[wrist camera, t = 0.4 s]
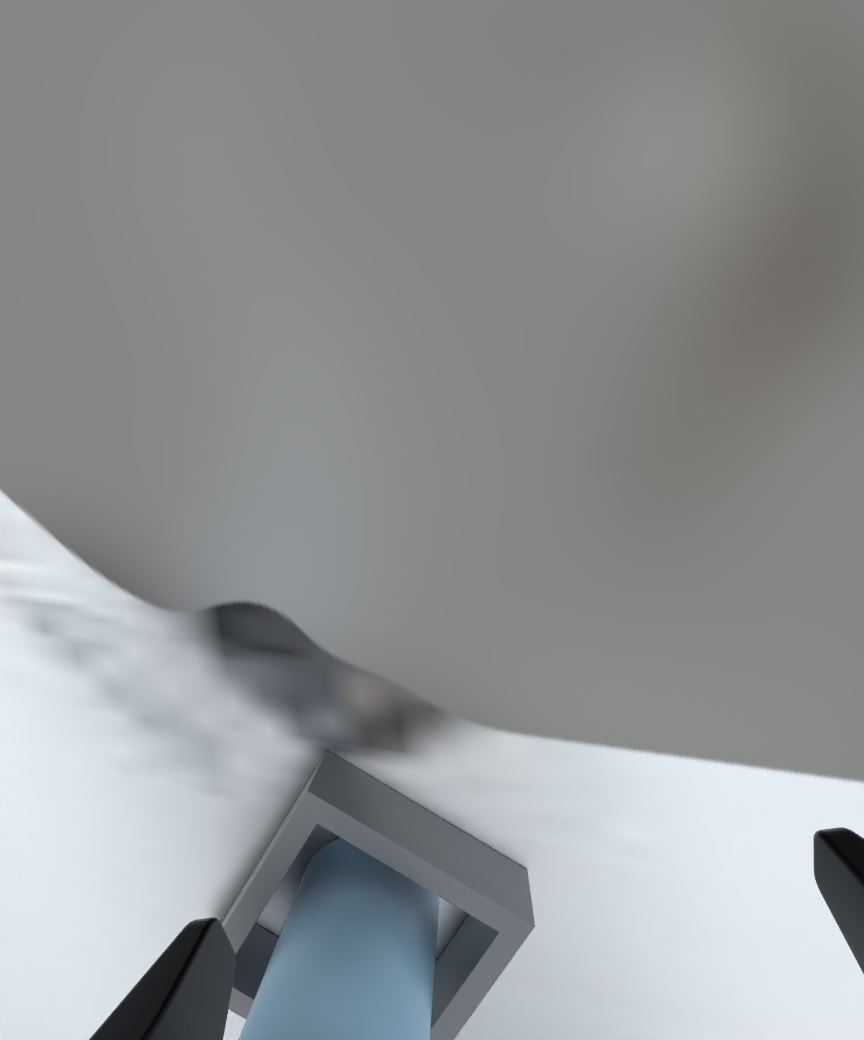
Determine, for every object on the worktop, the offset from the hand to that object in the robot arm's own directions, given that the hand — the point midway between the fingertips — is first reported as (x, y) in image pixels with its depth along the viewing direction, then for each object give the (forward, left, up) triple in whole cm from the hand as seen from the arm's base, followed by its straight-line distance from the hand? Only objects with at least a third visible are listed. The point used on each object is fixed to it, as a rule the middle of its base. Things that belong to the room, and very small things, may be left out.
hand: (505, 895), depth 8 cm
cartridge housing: (-14, -3, -15) cm, 21 cm away
